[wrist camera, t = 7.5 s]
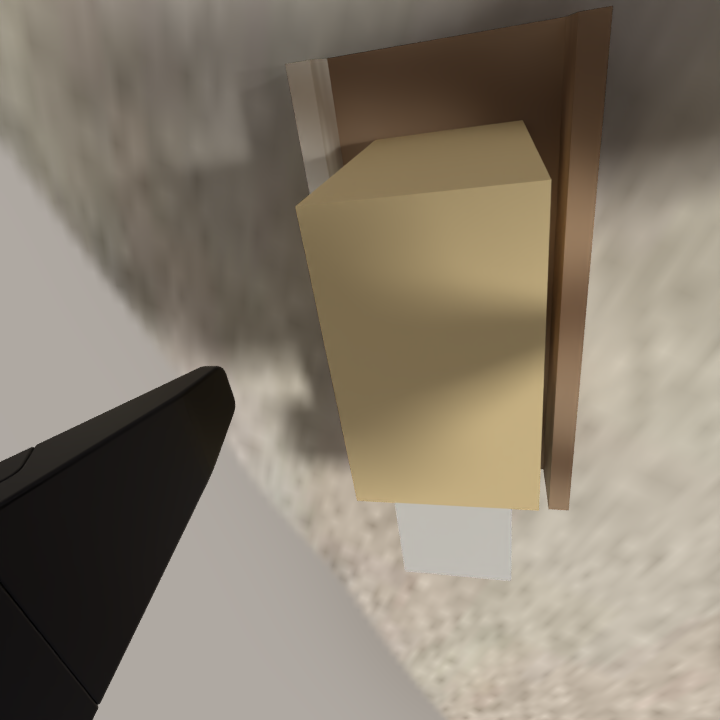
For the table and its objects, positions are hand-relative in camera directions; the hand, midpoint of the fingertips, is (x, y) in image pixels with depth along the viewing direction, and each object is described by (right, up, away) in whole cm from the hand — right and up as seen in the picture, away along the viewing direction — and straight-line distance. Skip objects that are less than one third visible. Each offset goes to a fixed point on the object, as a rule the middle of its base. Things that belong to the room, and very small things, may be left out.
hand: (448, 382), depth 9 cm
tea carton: (+2, +5, +10) cm, 11 cm away
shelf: (+2, +3, +12) cm, 13 cm away
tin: (+3, -3, +15) cm, 15 cm away
